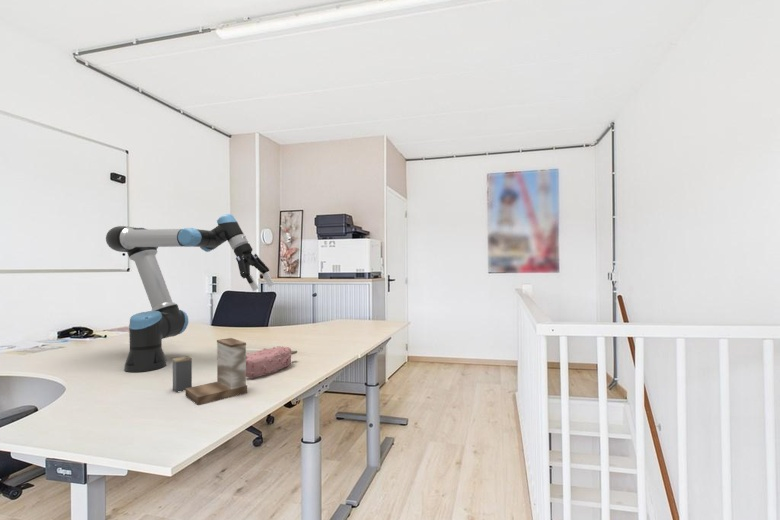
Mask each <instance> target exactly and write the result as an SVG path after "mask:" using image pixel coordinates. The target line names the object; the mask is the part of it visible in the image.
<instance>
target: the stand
mask: <svg viewBox="0 0 780 520" xmlns="http://www.w3.org/2000/svg"><path fill="white" fill-rule="evenodd" d="M246 347H247V342H245V341H243V340H239V339H236V338H234V337H228V338H221V339H217V340H216V348H217V349H216V350H217V351H216V356H217V358H216V360H217V362H216V367H217V368H216V369H217V370H216V371H217V373H216V375H217V376H216V377H217V380H216V381H214V382H209V383H205V384H198V385H196V386H192V387H190V388H185V394H184V395H186V396H187V397H186V396H185V397H186V398H187V399H188V400H190V399H191V400H190V401H192V402H193V403H194V402H195V404H196V405H198V406H199V405H201V406H202V405H205V404H208V403H213V402H216V401H220V399H221V400H224V398H225V399H228V397H229V398H232V396H233V397H236V395H237V396H240V394H241V395H244V394H247V393H248V385H247V377H246V354H247V353H246V352H247V348H246Z"/></svg>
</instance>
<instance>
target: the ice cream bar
mask: <svg viewBox="0 0 780 520" xmlns="http://www.w3.org/2000/svg"><path fill="white" fill-rule="evenodd" d="M295 354H298V351H297V350H292V349H291V348H290V347H287V346H285V347H284V346H276V347H275V346H274V347H270V348H263V349H262V350H258V351H254V352H251V353H246V378H249V379H254V378H257V377H260V376H267V375H269V374H274V373H276V372H277V371H279V370H281V369H284V368H287V367H289V366H290V365H291V362H292V355H295Z"/></svg>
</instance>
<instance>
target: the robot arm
mask: <svg viewBox="0 0 780 520" xmlns="http://www.w3.org/2000/svg"><path fill="white" fill-rule="evenodd" d="M216 223H217V226H216V227H214V228H213V229H211V230H207V229H197V228H193V227H186V228H155V229H153V228H152V229H149V228H144V227H134V226H124V225H119V226H118V225H117V226H114V227H112V228H111V229H109V230H108V231H107V233H106V235H105V241H106V244H107V246H108V247H109V248H110V249H111V250H112V251H113V250H114V251H116V252H119V253H127V256H128V258H129V260H131V261H133V262H134V264H135V266H136V268H137V272H138V274H139V277H140V280H141V281H142V282H141V283H142V285H143V287H144V290H145V293H146V297H147V298H148V301H149V303H150V306H151V310H149V311H141V312H138V313H136V314H133V315H132V316H131V317H130V318H129V325H128V327H129V329H128V331H129V332H128V333H129V335H128V336H129V352H128V355H127V357H126V360H125V364H124V371H125V372H128V373H141V372H142V373H144V372H150V371H155V370H159V369H163V368H164V367H167V359H166V356H165V353H164V349H163V348H162V347H163V346H162V341H163V340H164V339H168V338H170V337H175V336H178V335H181V334H183V333H184V332H185V331H186V329H187V327H188V324H189V316H188V315H187V313H186V311H184V310H182V309H180V308H179V305H178V303H176V302H173V300H172V297H171V295H170V292H169V289H168V287H167V284H166V280H165V278H164V275H163V274H162V270H161V267H160V265H159V262H158V260H157V254H158V248H160V247H161V248H166V247H169V248H173V247H174V248H175V247H176V248H177V247H185V248H187V247H190V248H191V247H193V248H194V247H195V248H196V247H198V248H200V249H201V250H202V251H204V252H206V253H209V252H211V251H214V250H215V249H217V248H218V247H219V246H221V245H222V244H224V243H225V242H228V244H229V246H230V248H231V249H232V250H233V253H234V255H235V260H236V262H237V266H238V270H239V274H240V277H241V278H242V279H246V281H247V283H248V284H249V286H250V288H251V290H252V292H254V291H255V292H256V290H258V289H259V288H260V287H259V285H258V283H257V282H256V280H255V278H254V277H253V275H252V274H251V266H252V267H254V268H255V269H257V271H259V272H260V273H261V274H262V278H263V279H264V280H265V282H266V284H267V286H268V287H269V288H271V287H272V286H273V285H275V283H274V280H273V279H272V277H271V276H270V274H269V272H270V268H269V267H268V266H267V265H266V264H265V263H264V261H262V260H261V258H260V257H259V255H258V254H257V253H254V254H253V253H252V252H253V247H252V246H251V244H250V243H249V241H248V239H247V237H246V235H245V234H244V232H243V230H242V229H241V226H240V224H239V223H238V221H237V220H236V218H235V216H234V215H233V214H231V213H230V214H229V213H228V214H223V215H221V216H219V218H218V219H217V220H216Z"/></svg>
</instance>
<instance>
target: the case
mask: <svg viewBox="0 0 780 520" xmlns="http://www.w3.org/2000/svg"><path fill="white" fill-rule="evenodd" d="M192 360H193V359H192V357H190V356H189V355H188V356H182V357H181V356H180V357H175V358H172V391H174V392H175V391H176V392H175V393H179V392H178V391H181V392H184V391H183V390H185V388H190V387H193V385H192V384H193V383H192V381H193V380H192V379H193V377H192V375H193V371H192V368H193V365H192V364H193V363H192Z"/></svg>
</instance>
